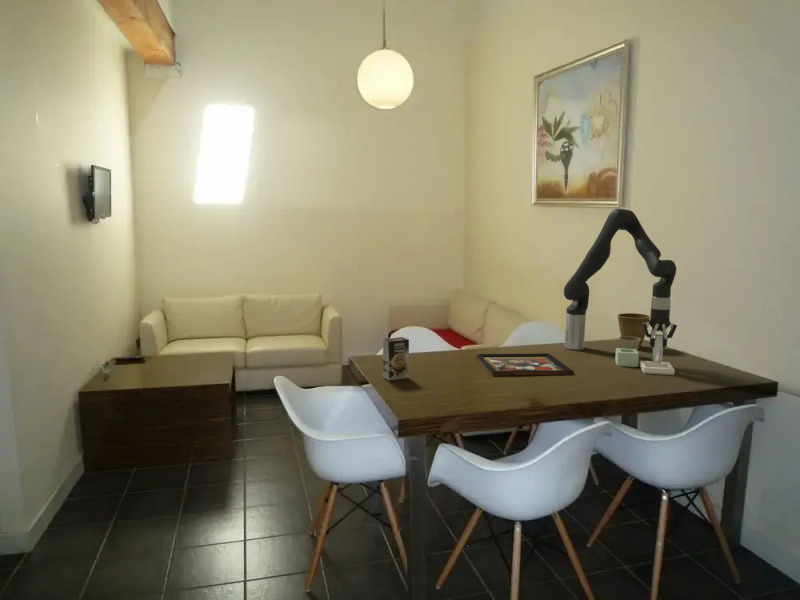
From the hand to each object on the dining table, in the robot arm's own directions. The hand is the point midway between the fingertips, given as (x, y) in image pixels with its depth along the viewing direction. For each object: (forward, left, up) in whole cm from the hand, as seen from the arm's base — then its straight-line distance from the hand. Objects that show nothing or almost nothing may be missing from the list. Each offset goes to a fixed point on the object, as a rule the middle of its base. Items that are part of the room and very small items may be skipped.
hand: (657, 347), depth 264 cm
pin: (0, 0, -7) cm, 7 cm away
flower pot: (-8, +24, -11) cm, 27 cm away
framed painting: (-56, -5, -11) cm, 57 cm away
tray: (0, 0, -10) cm, 10 cm away
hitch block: (-11, +9, -10) cm, 18 cm away
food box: (-106, -36, -11) cm, 112 cm away
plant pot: (-4, +45, -11) cm, 46 cm away
